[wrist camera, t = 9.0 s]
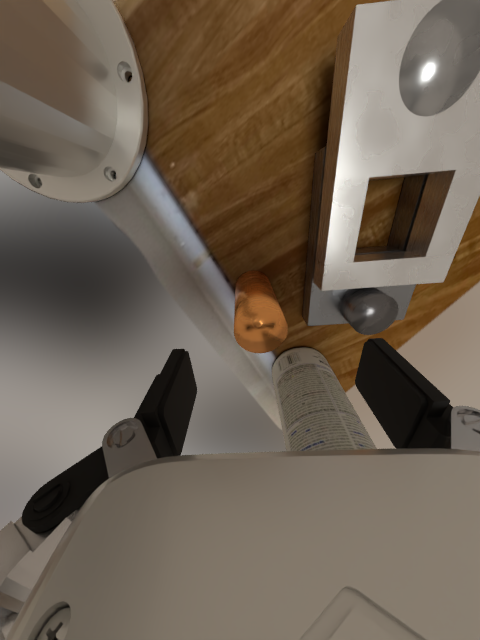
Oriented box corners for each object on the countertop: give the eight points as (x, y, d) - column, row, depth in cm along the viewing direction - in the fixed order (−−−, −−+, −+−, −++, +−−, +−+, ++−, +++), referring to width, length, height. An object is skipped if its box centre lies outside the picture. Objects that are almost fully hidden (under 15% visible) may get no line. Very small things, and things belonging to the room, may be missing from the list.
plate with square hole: (324, 59, 13) (356, 5, 9) (476, 43, 12) (569, -20, 9) (306, 275, 19) (321, 290, 16) (405, 267, 19) (443, 282, 15)
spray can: (266, 385, 27) (320, 733, 9) (275, 342, 23) (386, 756, 6) (317, 388, 27) (464, 730, 9) (333, 346, 24) (605, 751, 6)
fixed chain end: (315, 153, 15) (341, 135, 11) (441, 141, 15) (513, 118, 11) (302, 316, 22) (315, 340, 18) (390, 310, 21) (423, 333, 18)
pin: (236, 305, 21) (236, 354, 14) (234, 272, 19) (231, 309, 12) (270, 302, 21) (286, 351, 14) (270, 269, 19) (288, 305, 12)
